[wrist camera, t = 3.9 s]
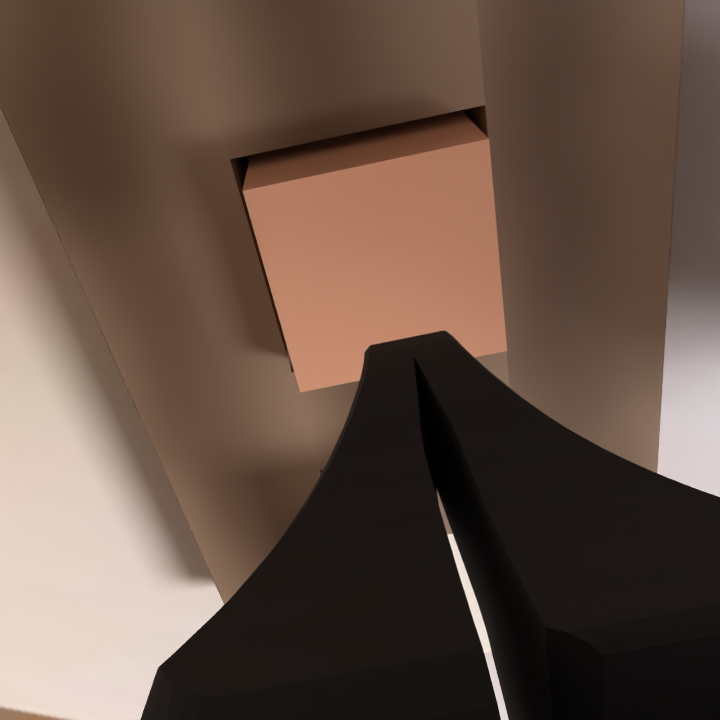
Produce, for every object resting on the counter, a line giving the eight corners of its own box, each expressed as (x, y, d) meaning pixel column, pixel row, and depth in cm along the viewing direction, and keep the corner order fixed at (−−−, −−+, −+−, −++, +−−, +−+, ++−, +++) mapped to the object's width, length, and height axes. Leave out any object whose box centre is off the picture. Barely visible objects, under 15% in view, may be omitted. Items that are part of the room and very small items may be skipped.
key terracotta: (450, 99, 17) (489, 138, 13) (470, 279, 20) (507, 350, 16) (253, 140, 17) (242, 190, 14) (299, 314, 20) (300, 392, 16)
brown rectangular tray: (647, -618, 11) (728, -749, 9) (621, 512, 25) (651, 565, 23) (-169, -419, 12) (-272, -499, 10) (246, 584, 25) (241, 643, 23)
